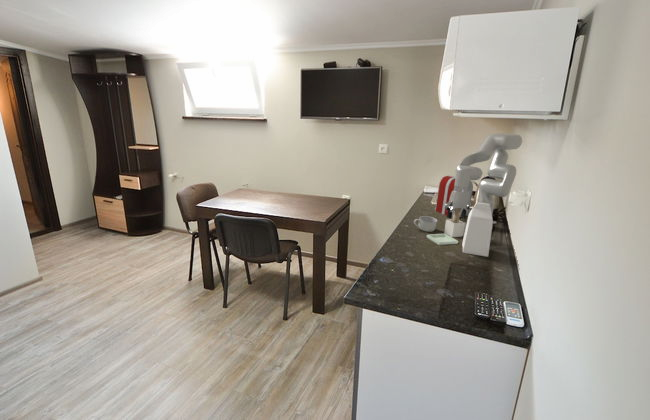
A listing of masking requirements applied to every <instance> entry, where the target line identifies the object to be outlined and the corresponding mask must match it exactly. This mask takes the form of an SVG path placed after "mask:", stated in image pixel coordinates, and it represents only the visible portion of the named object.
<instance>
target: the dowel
mask: <svg viewBox="0 0 650 420" xmlns="http://www.w3.org/2000/svg"><path fill="white" fill-rule="evenodd" d="M460 212H461V209H454V214H453V218H452V219H453V220H452V222H453V223H459V220H460Z"/></svg>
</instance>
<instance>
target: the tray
mask: <svg viewBox="0 0 650 420" xmlns="http://www.w3.org/2000/svg"><path fill="white" fill-rule="evenodd" d="M426 239H427V240H429V241H430V242H431V243H434V244H435V245H437V246H443V245H455V244H459V240H457V239H456V238H455V237H451V236H449V235H447V234H446V233H435V234H434V233H433V234H426Z"/></svg>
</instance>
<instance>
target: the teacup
mask: <svg viewBox="0 0 650 420" xmlns="http://www.w3.org/2000/svg"><path fill="white" fill-rule="evenodd" d="M417 222H418V224H417ZM437 223H438V219H437V218H435V217H433V216H430V215H429V216H428V215H422V216H421V215H420V216H419V218H416V219H414V220H413V224H414V225H415V226H416V227H417V228H418V229H419V230H421V231H422V232H425V233H432V232H434V231H435V230H436V228H437V225H438V224H437Z"/></svg>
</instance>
